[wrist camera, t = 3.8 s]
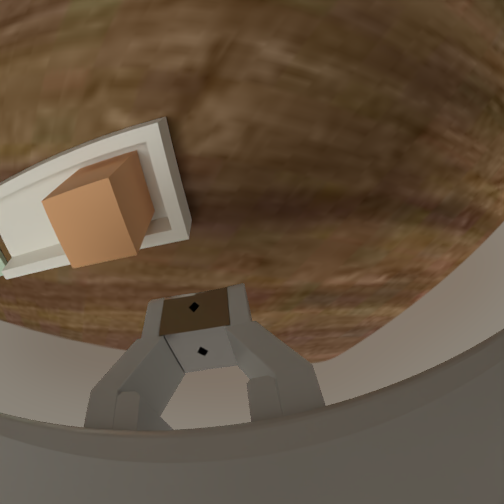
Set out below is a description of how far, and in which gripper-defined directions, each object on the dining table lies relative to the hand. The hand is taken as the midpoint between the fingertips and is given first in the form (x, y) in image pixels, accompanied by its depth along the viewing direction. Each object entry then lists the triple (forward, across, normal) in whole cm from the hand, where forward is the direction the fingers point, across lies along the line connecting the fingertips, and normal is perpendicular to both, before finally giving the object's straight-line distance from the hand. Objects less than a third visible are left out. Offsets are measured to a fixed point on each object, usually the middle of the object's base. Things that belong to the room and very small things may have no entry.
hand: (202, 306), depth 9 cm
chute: (+14, +12, -1) cm, 19 cm away
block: (+14, +7, -1) cm, 15 cm away
